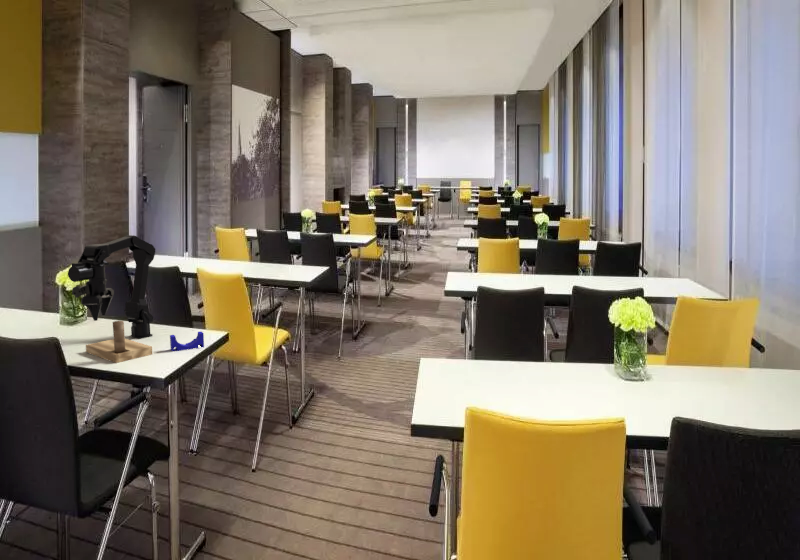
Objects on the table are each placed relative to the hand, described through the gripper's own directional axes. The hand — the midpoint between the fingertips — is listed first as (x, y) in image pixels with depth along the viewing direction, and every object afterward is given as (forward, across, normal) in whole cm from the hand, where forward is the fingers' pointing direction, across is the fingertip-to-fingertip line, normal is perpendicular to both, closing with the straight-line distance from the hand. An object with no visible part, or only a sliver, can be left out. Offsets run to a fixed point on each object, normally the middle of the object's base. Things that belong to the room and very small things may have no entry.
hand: (99, 317), depth 223 cm
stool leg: (+12, +14, +11) cm, 22 cm away
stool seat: (+12, +7, +8) cm, 17 cm away
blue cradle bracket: (+13, +2, +32) cm, 35 cm away
